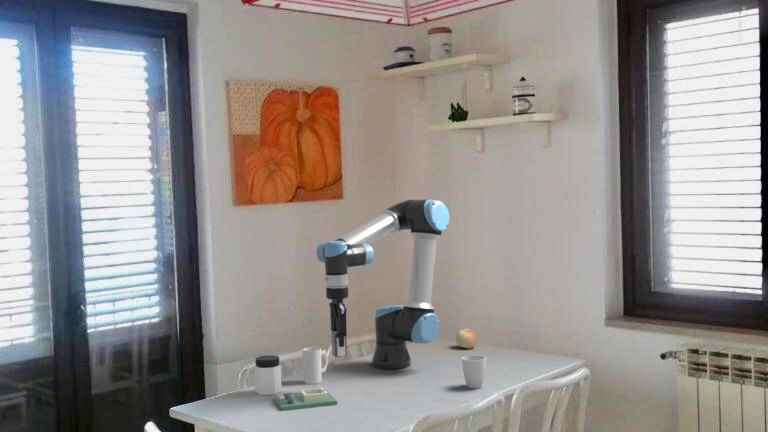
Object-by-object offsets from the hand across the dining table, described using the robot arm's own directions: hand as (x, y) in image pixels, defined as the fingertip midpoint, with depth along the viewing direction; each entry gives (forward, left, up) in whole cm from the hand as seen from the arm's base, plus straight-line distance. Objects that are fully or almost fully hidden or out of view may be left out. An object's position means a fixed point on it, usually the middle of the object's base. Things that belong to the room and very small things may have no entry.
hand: (339, 354), depth 279 cm
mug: (+4, -17, -13) cm, 22 cm away
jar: (+23, -9, -13) cm, 28 cm away
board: (+14, +8, -13) cm, 21 cm away
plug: (0, 0, 0) cm, 0 cm away
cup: (-45, +12, -13) cm, 48 cm away
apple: (-68, -46, -13) cm, 83 cm away
